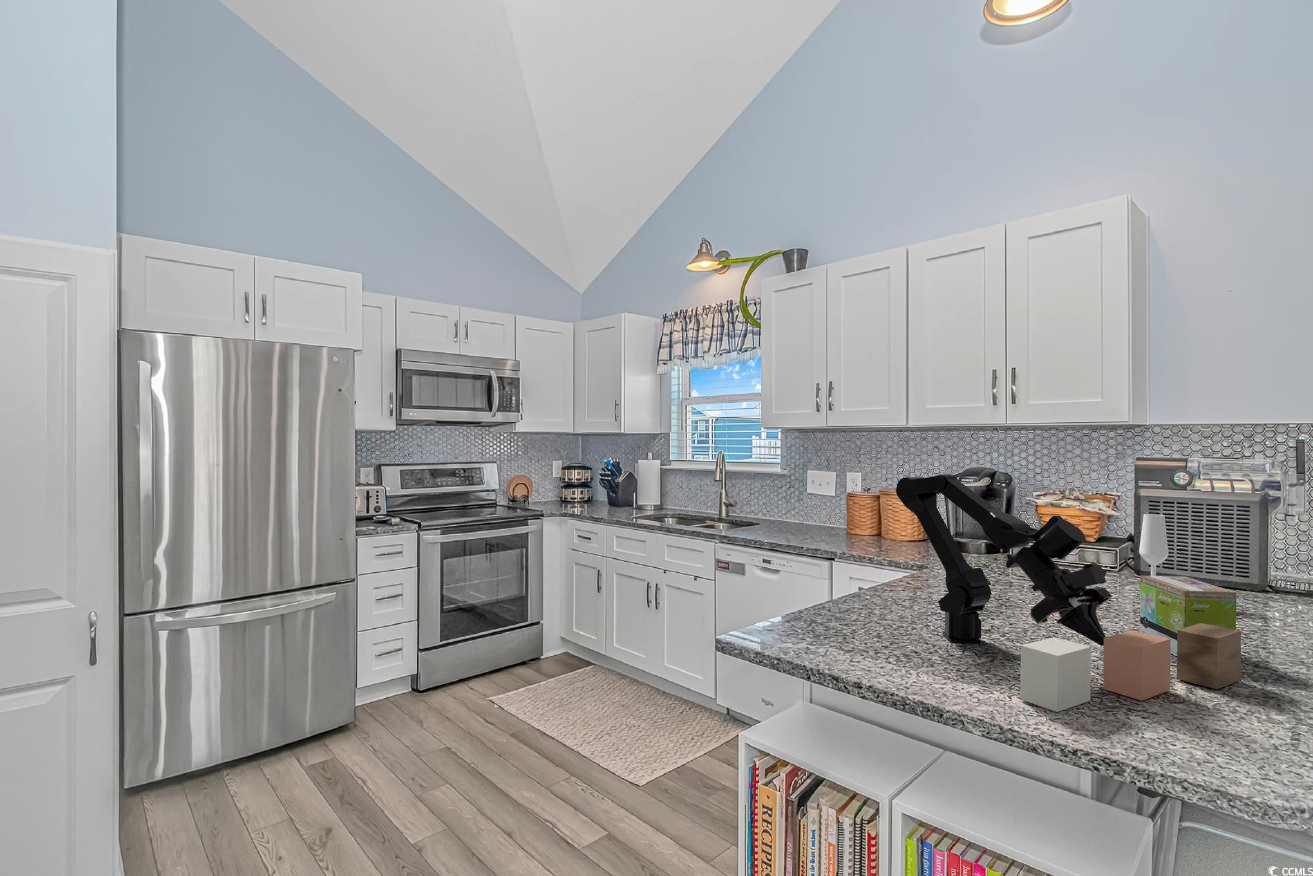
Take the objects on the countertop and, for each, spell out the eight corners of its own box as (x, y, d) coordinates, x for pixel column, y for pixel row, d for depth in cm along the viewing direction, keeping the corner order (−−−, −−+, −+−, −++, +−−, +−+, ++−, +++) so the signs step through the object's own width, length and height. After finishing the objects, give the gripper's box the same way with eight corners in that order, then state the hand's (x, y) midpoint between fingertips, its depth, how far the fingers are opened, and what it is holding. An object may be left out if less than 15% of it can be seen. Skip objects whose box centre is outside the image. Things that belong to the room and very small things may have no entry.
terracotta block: (1103, 688, 115) (1103, 637, 116) (1131, 679, 120) (1132, 630, 121) (1142, 700, 110) (1142, 647, 110) (1170, 690, 115) (1170, 639, 115)
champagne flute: (1164, 597, 189) (1165, 514, 189) (1171, 602, 183) (1172, 516, 183) (1135, 595, 192) (1136, 513, 192) (1142, 600, 185) (1142, 515, 186)
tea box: (1137, 639, 147) (1138, 573, 147) (1185, 642, 146) (1186, 575, 146) (1184, 662, 132) (1185, 588, 132) (1238, 664, 131) (1239, 590, 131)
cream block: (1020, 699, 110) (1020, 645, 110) (1053, 688, 115) (1054, 637, 115) (1057, 712, 105) (1057, 655, 105) (1090, 700, 110) (1090, 646, 110)
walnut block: (1176, 678, 121) (1177, 629, 121) (1200, 669, 126) (1201, 623, 126) (1217, 689, 116) (1217, 638, 116) (1240, 679, 121) (1241, 631, 121)
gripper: (1047, 552, 120) (1113, 627, 110) (1100, 545, 129) (1166, 614, 120) (1005, 587, 127) (1064, 660, 117) (1059, 578, 136) (1118, 646, 126)
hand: (1105, 644), depth 120 cm, fingers closed
